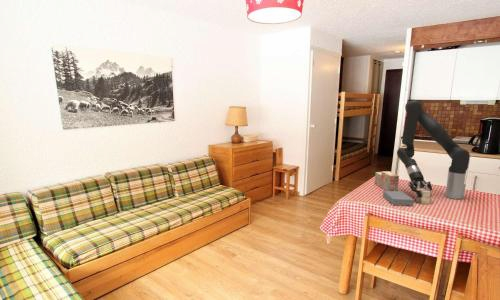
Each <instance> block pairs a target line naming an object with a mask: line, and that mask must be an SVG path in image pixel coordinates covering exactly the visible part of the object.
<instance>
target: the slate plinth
mask: <svg viewBox="0 0 500 300" xmlns="http://www.w3.org/2000/svg"><path fill="white" fill-rule="evenodd" d="M382 192H383V193H382V198H384V199H385V198H386V199H387V200H388V201H389V202H388V201H387V200H386V199H385V200H386V201H387V202H388V203H390V202H391V203H392V204H393V205H392V204H391V203H390V204H391V205H392V206H397V205H411V206H410V207H414V201H415V200H414V198H412V197H411V196H409V195H408V194H407V193H405V192H404V191H403V190H401V191H399V190H397V191H386V190H383V191H382Z"/></svg>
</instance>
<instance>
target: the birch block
mask: <svg viewBox="0 0 500 300" xmlns="http://www.w3.org/2000/svg"><path fill="white" fill-rule="evenodd" d="M419 191H420V193H421V195H422V197H421V198H419V197H418V196H417V195H416V200H415V202H417V203H419V204H420V203H421V205H429V204H430V203H431V202H430V201H431V197H430V194H432V192H431V191H428V190H426V189H422V188H419Z"/></svg>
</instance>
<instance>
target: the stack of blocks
mask: <svg viewBox="0 0 500 300" xmlns="http://www.w3.org/2000/svg"><path fill="white" fill-rule="evenodd" d="M399 180H400V176H399V175H398V174H396V173H394V172H392V171H383V170H382V171H376V172H375V173H374V184H375V185H376V186H378V187H379V188H381V189H382V190H383V191H399V190H398V189H399Z"/></svg>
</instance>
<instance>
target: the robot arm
mask: <svg viewBox="0 0 500 300" xmlns="http://www.w3.org/2000/svg"><path fill="white" fill-rule="evenodd" d="M404 109H405V111H406V114H407V116H406V123H405V126H404V130H403V132H402V139H401V144H403V145H405V147H400V148H398V149H397V151H396V155H397V157H398V159H399V160H400V161H401V163H403V165H404V166H405V169H406V172H407V175H408V177H409V179H410V182H408V184H407V185H408V187H409V188H410V189H411V192H414V193H415V194H416V197H417V196H418V197H419V198H421V197H422V195H421V193H420V191H419V189H426V190H428V191H430V192H431V191H433V186H432V183H431V181H425V178H424V174H423V173H422V170H421V169H420V166H419V165H418V164H417V161H416V159H415V158H413V157H414V156H415V145H414V142H415V137H416V136H415V135H416V131H417V124H418V123H419V125H420V126H421V127H422V129H423V130H424V131H425V132H426V134H427V135H428V136H429V137H430V138H432V140H434V142H436V143H437V144H438V145H440V146H441V148H442V149H443V150H444V151H445V152H446V153H447V155H448V157H449V158H450V159H451V162H450V166H449V167H448V171H447V179H446V180H447V181H446V187H445V193H444V195H445V197H447V198H450V199H453V200H463V199H465V194H466V193H465V191H466V184H465V181H466V175H467V170H468V168H469V164H470V157H471V155H470V152H469V151H468V150H467V149H464V148H463V147H461V146H460V145H458V144H457V142H456V141H454V140H453V139H452V137H451V135H450V134H449V132H448V130H447V129H446V128H445V127H444V126H443V125H442V124H441V122H439V121H438V120H436V119H435V118H434V117H432V116H431V115H430V114H428V112H426V110H425V108H423V104H422V103H421V102H420V101H419V100H415V99H414V100H413V99H412V100H409V101H407V102H406V103H405V105H404ZM432 196H433V195H432V193H431V194H430V198H431V197H432Z"/></svg>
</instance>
